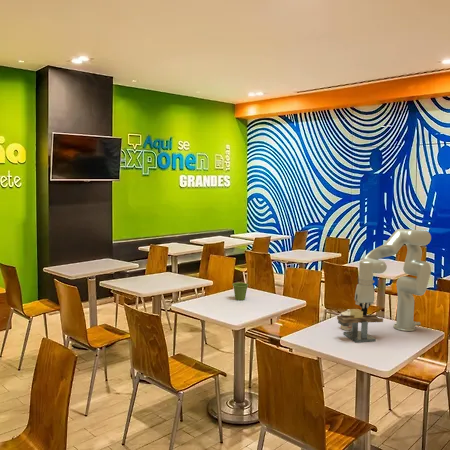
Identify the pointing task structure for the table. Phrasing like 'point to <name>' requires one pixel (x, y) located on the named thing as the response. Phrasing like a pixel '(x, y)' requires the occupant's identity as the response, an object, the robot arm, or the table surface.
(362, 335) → the pivot stand
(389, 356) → the table surface
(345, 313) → the teacup with lid
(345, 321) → the balance beam
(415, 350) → the table surface
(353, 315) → the block
